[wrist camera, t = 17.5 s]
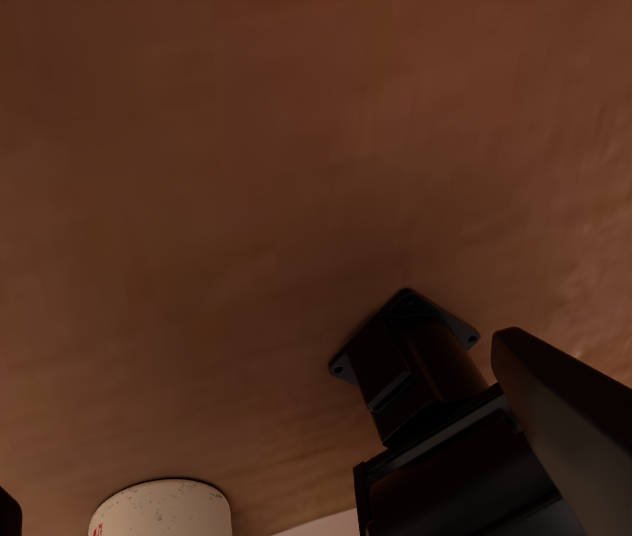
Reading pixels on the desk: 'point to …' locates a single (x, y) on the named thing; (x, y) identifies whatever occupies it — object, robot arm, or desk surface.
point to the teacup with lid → (164, 511)
